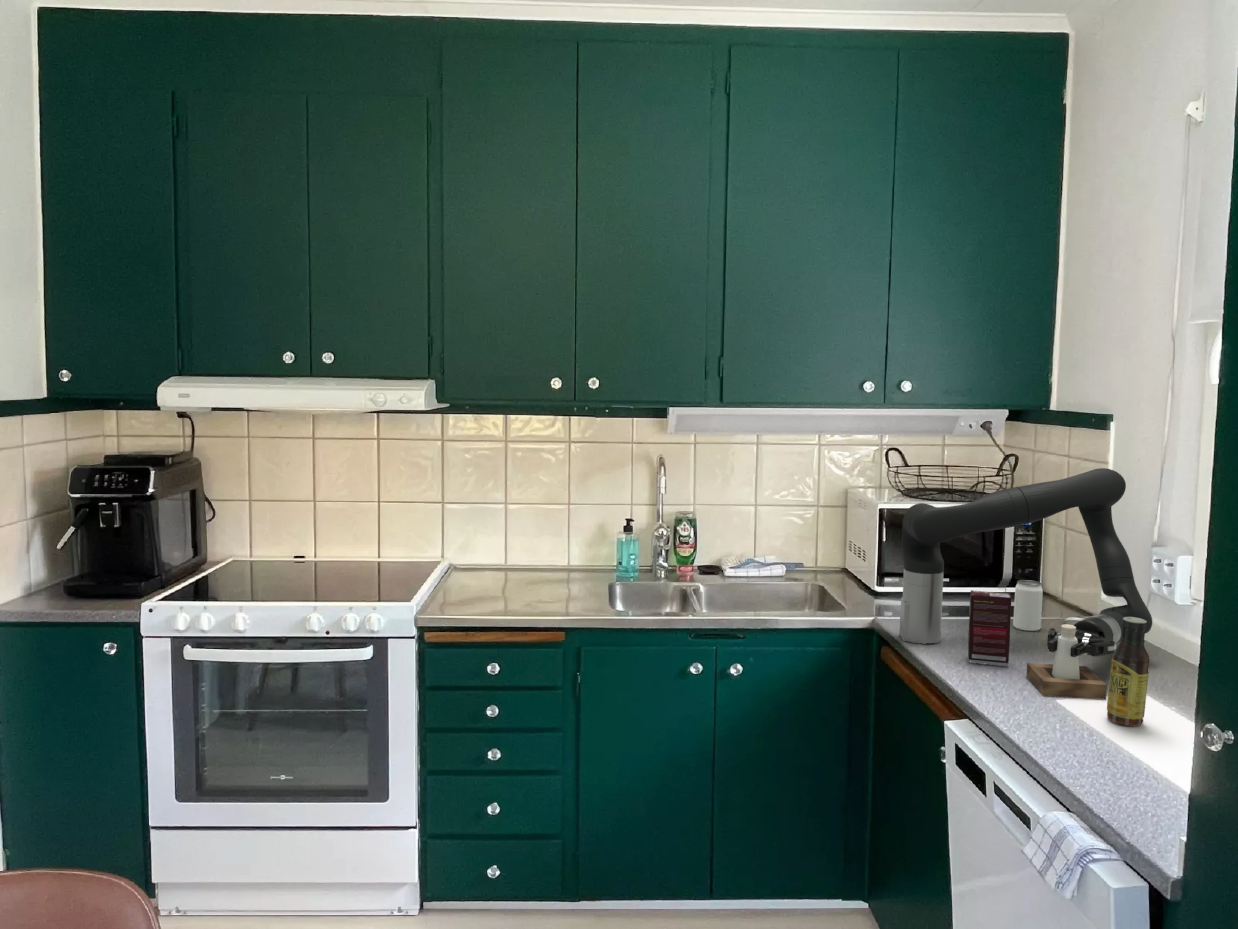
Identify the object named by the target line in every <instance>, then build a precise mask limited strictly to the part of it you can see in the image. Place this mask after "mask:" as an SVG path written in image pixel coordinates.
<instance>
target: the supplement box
mask: <svg viewBox="0 0 1238 929" xmlns="http://www.w3.org/2000/svg"><path fill="white" fill-rule="evenodd" d="M969 597H970V598H969V614H968V615H969V618H968V642H967V644H968V645H967V659H968V662H969V661H971V662H975V663H974V664H976V663H986V664H992V665H991V666H996V665H997V667H1005V668H1006V667H1009V663H1010V643H1011V639H1010V638H1011V619H1012V618H1011V615H1012V596H1011V593H1009V592H997V591H986V590H985V591H983V590H972V589H971V590H970V595H969ZM986 664H985V665H986Z"/></svg>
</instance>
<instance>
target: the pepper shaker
mask: <svg viewBox="0 0 1238 929" xmlns="http://www.w3.org/2000/svg"><path fill="white" fill-rule="evenodd" d="M1073 625H1074V624H1067V623H1066V624H1062V625H1061V626H1060V628H1061V630H1060V633H1061V636H1058V642H1057V649H1056V651H1055V654H1054V658H1053V659H1054V660H1053V663H1052V664H1053V670H1052V675H1053V677H1054V678H1063V679H1080V674H1079V666H1080V661H1079V660H1080V659H1079V657H1080V656H1076V657H1071V655H1070V654H1071V646H1073V645H1075V644H1078V640H1077V638H1076V637H1075V630H1076V627H1075V626H1073Z"/></svg>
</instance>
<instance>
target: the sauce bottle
mask: <svg viewBox="0 0 1238 929" xmlns="http://www.w3.org/2000/svg"><path fill="white" fill-rule="evenodd" d="M1122 627H1123V628H1122V637H1121V641H1120V642H1118V645H1117V646H1116V648H1115V650H1114V654H1112V657H1111V663H1110V670H1109V671H1110V672H1109V682H1108V690H1107V691H1108V693H1107V702H1106V710H1107V711H1106V715H1107V719H1108V720H1109V722H1113V723H1115V724H1118V725H1120V726H1123V727H1124V726H1125V727H1139V726H1141V725H1143V723H1144V717H1145V711H1146V702H1147V701H1146V700H1147V692H1148V684H1149V675H1150V674H1149V673H1150V672H1149V667H1150V666H1149V665H1150V655H1149V653H1148V651H1147V650H1146V648H1145V636H1146V633H1145V630H1146V628H1147V621H1146V620H1144V619H1141V618H1136V617H1124V618H1123V619H1122Z"/></svg>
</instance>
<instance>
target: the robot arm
mask: <svg viewBox="0 0 1238 929" xmlns="http://www.w3.org/2000/svg"><path fill="white" fill-rule="evenodd" d="M1126 484H1127V483H1126V480H1125V478H1124V477H1123V476H1122V475H1121V473H1119V472H1117V471H1116V470H1114V469H1110V468H1105V467H1101V468H1094V469H1092V470H1088V471H1085V472H1082V473H1079V474H1076V475H1072V476H1069V477H1065V478H1062V479H1056V480H1050V481H1043V482H1037V483H1031V484H1027V485H1020V486H1014V487H1008V488H1005V489H999V490H995V491H993V492H990V493H988V494H985V495H983V496H981V497H980V498H977V499H975V500H973V501H970V502H967V503H964V504H958V505H951V506H941V507H938V506H934V505H932V504H928V503H924V502H923V503H921V502H920V503H916V504H913V505H911V506H910V507H909V508H908V509H907V510H906V512H905V514H904V515H903V519H902V528H901V529H902V531H901V532H902V533H901V553H902V554H901V556H902V559H903V580H902V582H903V583H902V596H901V598H900V612H899V613H900V615H899V630H898V631H899V634H898V635H899V636H900V638H901V640H902V641H903V642H909V643H914V644H920V643H934V644H938V643H940V642H941V635H942V631H941V629H942V614H943V613H942V611H943V589H944V571H945V562H944V558H943V556H942V552H941V547H940V546H941V543H944V542H947V541H951V540H954V539H957V538H961V537H964V536H967V535H970V534H975V533H982V532H990V531H991V532H992V531H997V530H1002V529H1003V530H1004V529H1009V528H1013V527H1020V526H1024V525H1028V524H1032V523H1035V522H1039V521H1041V520H1044V519H1046V518H1048V517H1052V516H1054V515H1056V514H1059V513H1061V512H1064V511H1066V510H1069V509H1074V508H1078V509H1079V510H1078V511H1079V512H1080V515H1081V518H1082V520H1083V523H1084V526H1085V528H1086V531H1087V533H1088V537H1089V539H1090V540H1089V541H1090V543H1091V547H1092V551H1093V554H1094V558H1095V563H1096V567H1097V571H1098V572H1097V573H1098V577H1099V582H1100V587H1101V590H1102V593H1103V594H1104V595H1105V596H1107V597H1113V598H1123V599H1124V601H1126V602H1125V603H1126V604H1123V605H1118V606H1117V605H1116V606H1112V607H1107V608H1103V609H1102V610H1100V612H1099V613H1098V614H1094V615H1091V616H1089V617H1087V618H1086V617H1085V618H1084V619H1081V620H1078V621H1077V622H1075V623H1074V624H1072V625H1073V626H1075V627H1076V630H1075V637H1076V638H1077V640H1078V644H1075V645H1073V646H1071V654H1070V655H1071V657H1076V656H1079V657H1080V656H1091V657H1101V656H1108V655H1114V653H1115V650H1116V648H1115V646H1116V644H1119V643H1120V641H1121V637H1122V628H1123V627H1122V619H1123V618H1124V617H1136V618H1141V619H1144V620H1146V621H1147V628H1146V630H1145V634H1148V633H1149V632H1150V631H1151V629H1152V626H1153V618H1152V615H1151V612H1150V611H1149V608H1148V607H1147V605H1146V604H1145V602H1144V600H1143V598H1142V596H1141V594H1140V592H1139V590H1138V588H1137V586H1136V581H1135V577H1134V572H1133V568H1132V564H1131V560H1130V557H1129V554H1128V553H1127V550H1126V548H1125V547H1124V545H1123V544H1122V543H1123V542H1121V540H1120V539H1119V537H1118V534H1117V532H1116V529H1115V527H1114V522H1113V512H1112V510H1113V509H1112V508H1113V507H1112V506H1114V505H1116V504H1117V503H1118V502H1119V501H1120V500H1121V499H1122V497H1123V496H1124V494H1125V492H1126V488H1127V485H1126ZM1058 636H1061V632H1058V630H1057V629H1056V628H1054V627H1051V628H1049V629H1048V632H1047V640H1046V641H1047V643H1046V645H1047V650H1048V652H1051V653H1054V652H1056V649H1057V642H1058Z"/></svg>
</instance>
